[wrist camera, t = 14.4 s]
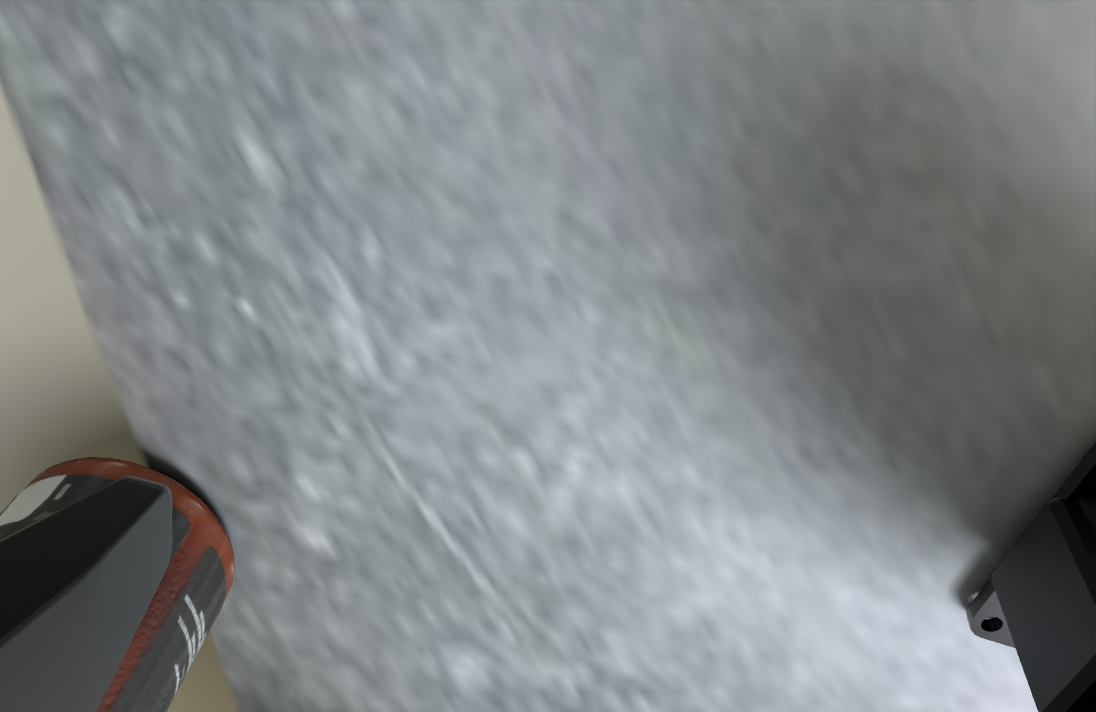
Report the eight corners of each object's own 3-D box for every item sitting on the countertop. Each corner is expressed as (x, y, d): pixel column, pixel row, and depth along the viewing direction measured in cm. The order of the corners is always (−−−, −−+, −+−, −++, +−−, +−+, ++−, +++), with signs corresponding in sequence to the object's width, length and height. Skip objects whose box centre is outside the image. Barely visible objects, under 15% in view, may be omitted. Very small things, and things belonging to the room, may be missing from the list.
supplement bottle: (0, 437, 25) (-418, 860, 16) (219, 452, 25) (-78, 903, 15) (65, 601, 28) (-250, 1035, 19) (260, 618, 28) (36, 1076, 18)
